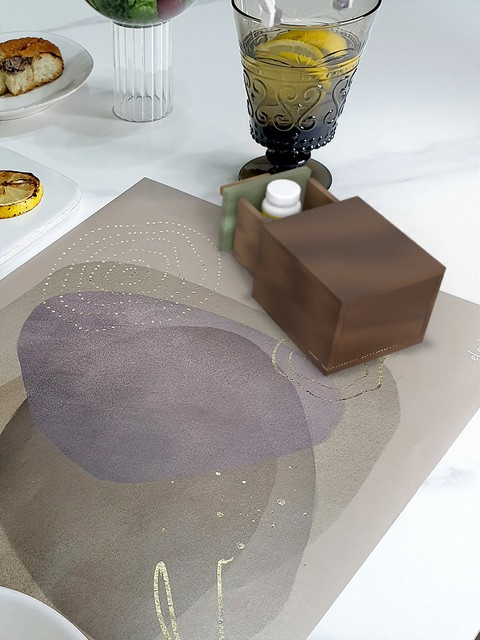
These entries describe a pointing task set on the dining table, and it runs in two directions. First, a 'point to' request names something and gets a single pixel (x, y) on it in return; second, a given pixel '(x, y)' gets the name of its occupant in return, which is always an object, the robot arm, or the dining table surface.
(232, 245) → the drawer
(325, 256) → the cabinet
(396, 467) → the dining table surface
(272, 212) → the supplement bottle
